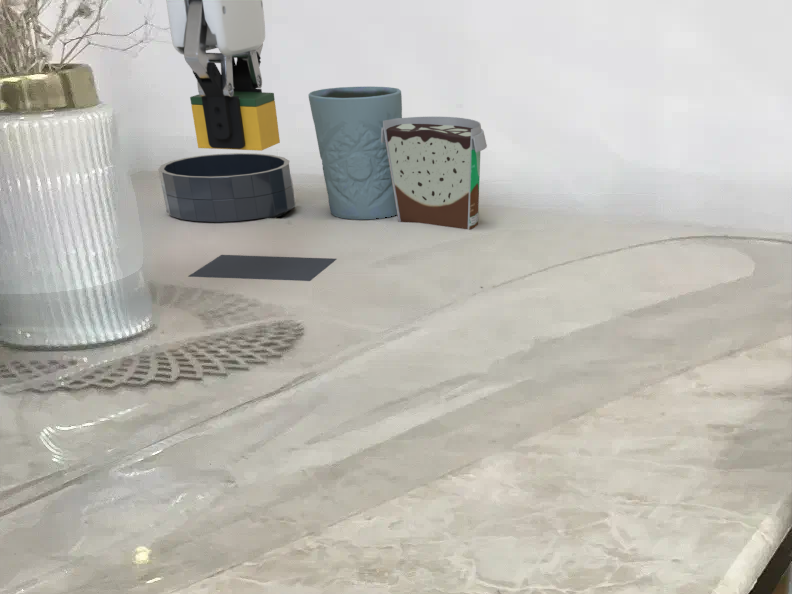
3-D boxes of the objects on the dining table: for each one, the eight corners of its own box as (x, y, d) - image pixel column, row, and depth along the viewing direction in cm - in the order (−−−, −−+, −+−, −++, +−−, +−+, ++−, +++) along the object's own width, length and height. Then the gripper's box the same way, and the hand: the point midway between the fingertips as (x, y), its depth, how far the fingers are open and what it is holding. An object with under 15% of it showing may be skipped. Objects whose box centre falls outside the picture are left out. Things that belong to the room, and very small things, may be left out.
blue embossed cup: (362, 225, 124) (349, 100, 117) (304, 212, 130) (288, 92, 122) (429, 209, 131) (420, 89, 123) (370, 197, 136) (359, 82, 129)
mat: (188, 281, 107) (187, 276, 106) (222, 259, 113) (221, 254, 113) (310, 286, 105) (310, 280, 105) (337, 263, 112) (337, 258, 111)
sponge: (197, 148, 101) (189, 96, 99) (218, 140, 105) (210, 90, 102) (261, 150, 100) (255, 99, 98) (280, 142, 104) (274, 92, 102)
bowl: (147, 225, 125) (136, 175, 122) (199, 198, 136) (191, 152, 133) (269, 229, 123) (262, 178, 120) (312, 201, 134) (306, 154, 131)
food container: (512, 224, 124) (508, 121, 118) (480, 236, 120) (475, 129, 114) (421, 212, 129) (413, 112, 123) (388, 222, 125) (378, 120, 119)
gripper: (202, -109, 99) (236, 127, 110) (109, -113, 85) (158, 157, 96) (284, -108, 98) (310, 130, 109) (203, -112, 84) (242, 160, 95)
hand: (238, 140), depth 102 cm, fingers closed on sponge, 4 cm apart
